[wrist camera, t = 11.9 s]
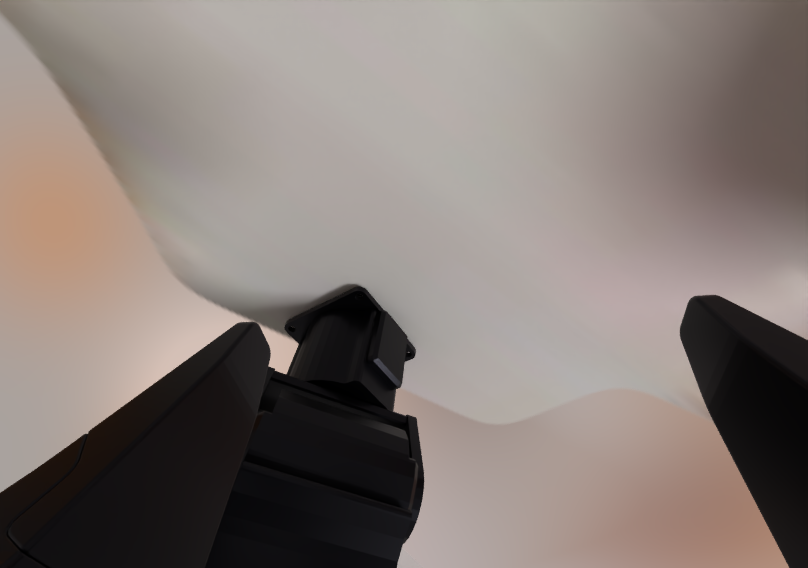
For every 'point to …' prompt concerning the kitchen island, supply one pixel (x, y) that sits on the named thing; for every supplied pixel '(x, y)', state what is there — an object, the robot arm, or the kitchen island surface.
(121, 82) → the kitchen island surface
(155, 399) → the robot arm
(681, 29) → the kitchen island surface
